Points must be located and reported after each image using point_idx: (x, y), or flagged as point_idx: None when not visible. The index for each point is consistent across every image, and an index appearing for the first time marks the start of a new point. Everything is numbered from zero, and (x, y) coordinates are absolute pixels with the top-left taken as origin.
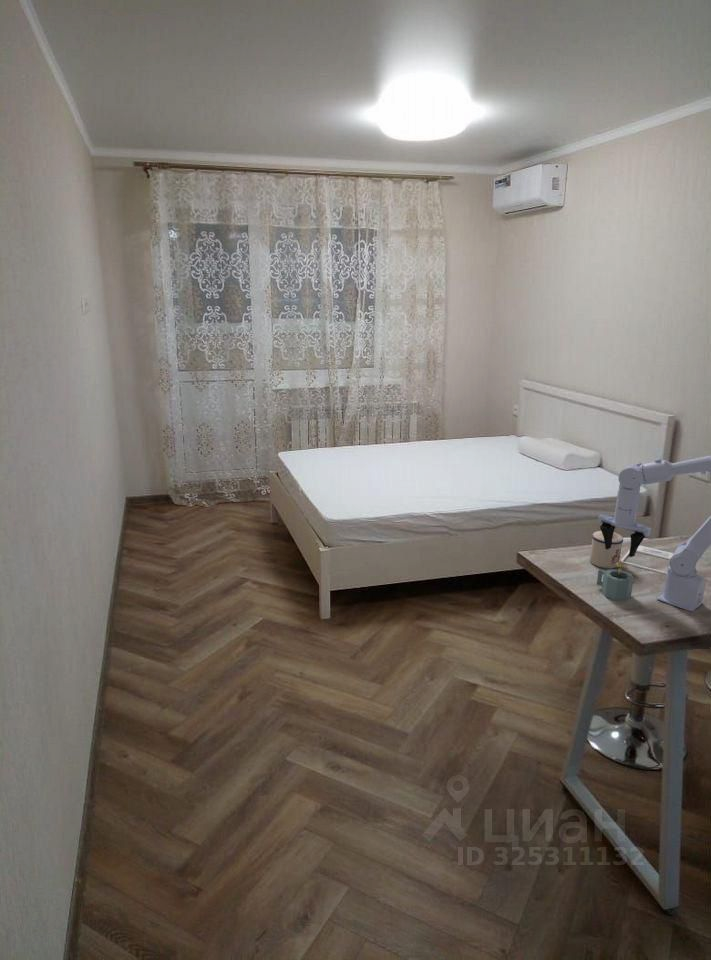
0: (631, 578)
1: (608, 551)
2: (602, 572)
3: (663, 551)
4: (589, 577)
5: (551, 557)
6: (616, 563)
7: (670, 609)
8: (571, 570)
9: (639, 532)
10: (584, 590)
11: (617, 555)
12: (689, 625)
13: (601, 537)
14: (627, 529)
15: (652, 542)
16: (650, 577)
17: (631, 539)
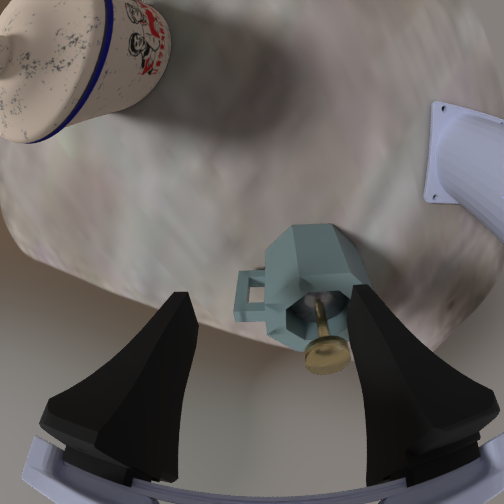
0: None
1: (109, 96)
2: (253, 319)
3: None
4: (173, 219)
5: (28, 194)
6: (314, 373)
7: (458, 227)
8: (108, 221)
9: (429, 481)
10: (231, 306)
11: (147, 42)
12: (487, 268)
13: (21, 126)
14: (316, 500)
15: None
16: (327, 13)
17: (372, 451)
